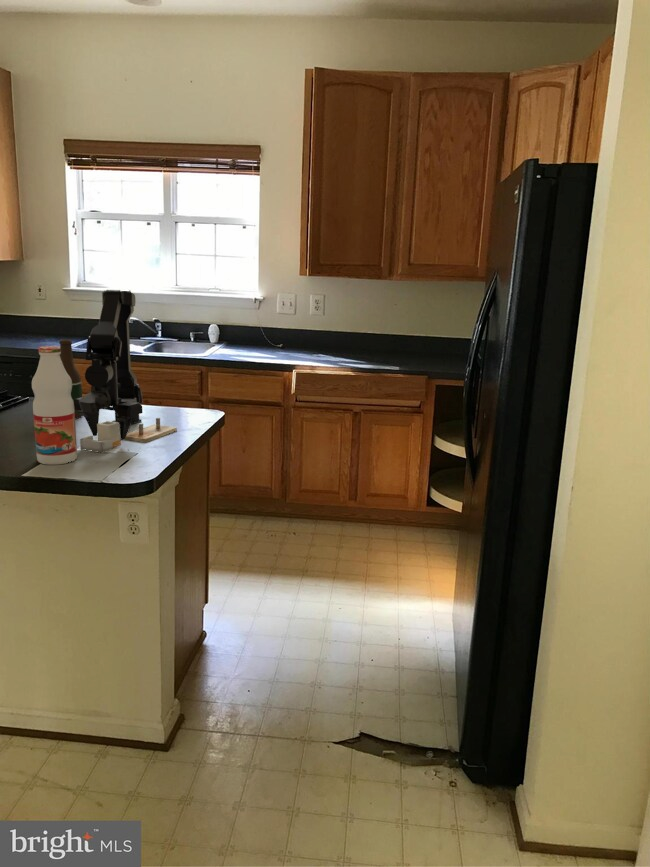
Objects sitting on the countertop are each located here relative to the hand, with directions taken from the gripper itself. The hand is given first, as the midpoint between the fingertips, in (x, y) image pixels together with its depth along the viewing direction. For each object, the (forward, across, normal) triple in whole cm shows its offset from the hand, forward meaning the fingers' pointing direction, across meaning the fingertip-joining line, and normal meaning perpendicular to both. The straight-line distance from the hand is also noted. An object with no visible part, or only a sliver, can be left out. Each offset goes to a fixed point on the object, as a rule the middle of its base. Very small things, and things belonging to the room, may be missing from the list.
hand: (108, 437), depth 186 cm
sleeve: (+2, 0, 0) cm, 2 cm away
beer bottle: (+2, -32, +21) cm, 38 cm away
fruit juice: (+2, -2, -17) cm, 17 cm away
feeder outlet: (+2, 0, -5) cm, 5 cm away
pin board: (+2, +3, +14) cm, 14 cm away
